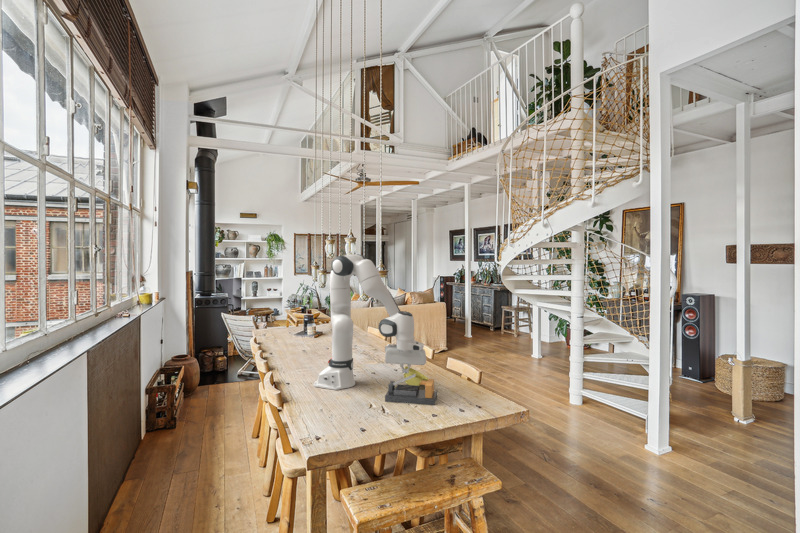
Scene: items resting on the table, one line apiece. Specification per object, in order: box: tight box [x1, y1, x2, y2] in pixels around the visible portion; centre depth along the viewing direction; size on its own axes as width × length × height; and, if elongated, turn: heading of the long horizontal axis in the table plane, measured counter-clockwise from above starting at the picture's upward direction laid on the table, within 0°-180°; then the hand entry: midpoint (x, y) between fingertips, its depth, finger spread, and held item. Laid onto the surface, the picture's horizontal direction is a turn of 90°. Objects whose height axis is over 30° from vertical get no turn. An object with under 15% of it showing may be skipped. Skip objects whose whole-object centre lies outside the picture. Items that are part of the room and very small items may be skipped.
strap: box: [391, 374, 416, 386], centre depth 193 cm, size 14×2×1 cm, turn 77°
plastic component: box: [403, 365, 430, 387], centre depth 217 cm, size 20×7×10 cm
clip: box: [420, 378, 435, 398], centre depth 191 cm, size 6×10×6 cm, turn 168°
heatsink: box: [384, 380, 438, 406], centre depth 192 cm, size 24×11×8 cm, turn 78°
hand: (405, 372), depth 193 cm, fingers closed
